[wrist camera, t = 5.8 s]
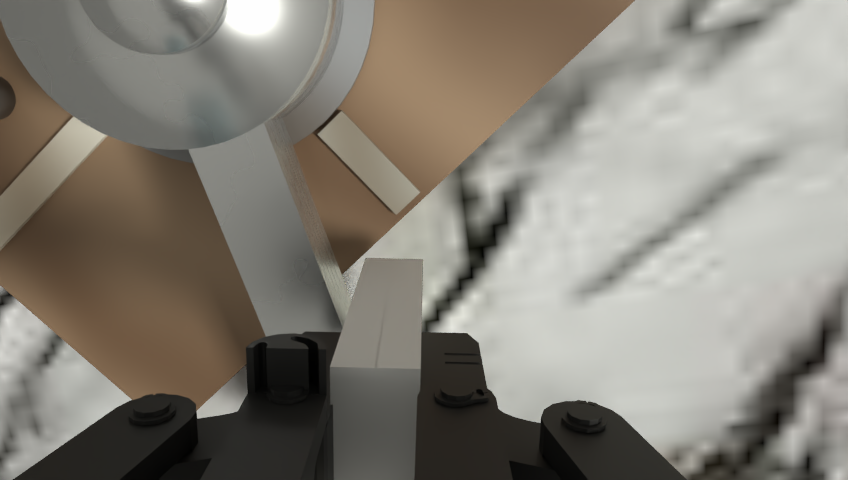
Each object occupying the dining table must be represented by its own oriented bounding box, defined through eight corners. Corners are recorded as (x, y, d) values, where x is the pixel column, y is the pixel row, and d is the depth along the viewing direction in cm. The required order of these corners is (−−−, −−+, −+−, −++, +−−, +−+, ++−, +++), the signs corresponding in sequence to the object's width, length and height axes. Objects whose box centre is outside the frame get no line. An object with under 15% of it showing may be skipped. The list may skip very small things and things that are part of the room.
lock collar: (282, -210, 15) (246, -284, 12) (497, 425, 19) (512, 492, 16) (5, -105, 16) (-98, -149, 13) (269, 493, 20) (240, 572, 16)
